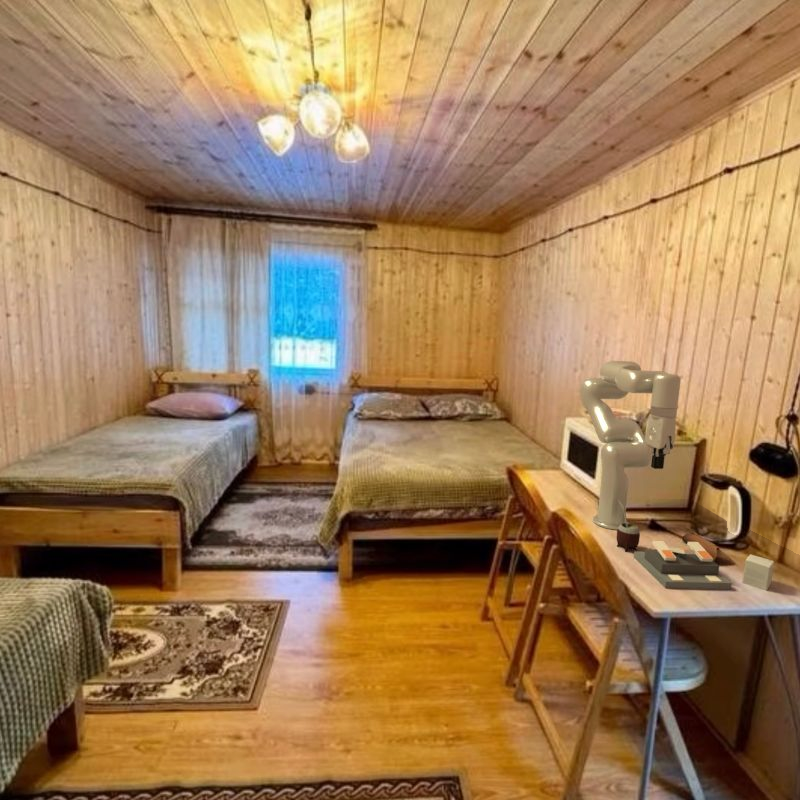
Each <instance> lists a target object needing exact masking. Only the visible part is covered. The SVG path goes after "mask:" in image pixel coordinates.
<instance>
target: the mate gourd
mask: <svg viewBox="0 0 800 800" xmlns="http://www.w3.org/2000/svg"><path fill="white" fill-rule="evenodd" d="M618 502H619V503H620V505H621V506H622V508H623V512H624V517H625V523H622V524H620V525H619V527H618V530H616V542H617V544H616V547H617V548H621V549H624V552H626V553H628V550H630V551H633V552H638V548H637V547H638V546H639V544H640V543H639V542H640V536H641V532H640V531H641V530H640V529H639V527H638V526H637V525H635V524H632V523H630V522H628V523H627V521H628V520H627V514H626V513H625V512H627V510H626V511H625V509H624V506H623V505H622V503H621V502H620V501H619V500H618Z"/></svg>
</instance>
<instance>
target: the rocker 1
mask: <svg viewBox="0 0 800 800" xmlns="http://www.w3.org/2000/svg"><path fill="white" fill-rule="evenodd" d="M652 546H654V548H655V549H657V551H658V552H659V554H660V556H662V557H663V558H664V560H671V561H676V557H675V555H674V554H673V553H672V552H671V550H670V549H669V548H670V547H669V546H668V545H667V544H666V543H665V541H663V540H652Z"/></svg>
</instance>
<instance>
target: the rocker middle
mask: <svg viewBox="0 0 800 800" xmlns="http://www.w3.org/2000/svg"><path fill="white" fill-rule="evenodd" d="M668 548H669V549H670V550H671V552H676V553H678V556H686V554H695V551H694V550H691V549H690V548H689V549H688V548H679V547H668Z"/></svg>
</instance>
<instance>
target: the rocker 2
mask: <svg viewBox="0 0 800 800" xmlns="http://www.w3.org/2000/svg"><path fill="white" fill-rule="evenodd" d="M686 544H687V546H688V547H689V549H690V550H694V551H695V556H697V557H698V558H699V559H700V560H701V561H708V562H712V561H713V558H712V557H711V556H710V555H709V554H708V553H707V551H706V550H705V549H704V548H703V547H702V546H701V545H700V544H699V543H698V542H688V543H686Z"/></svg>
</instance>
